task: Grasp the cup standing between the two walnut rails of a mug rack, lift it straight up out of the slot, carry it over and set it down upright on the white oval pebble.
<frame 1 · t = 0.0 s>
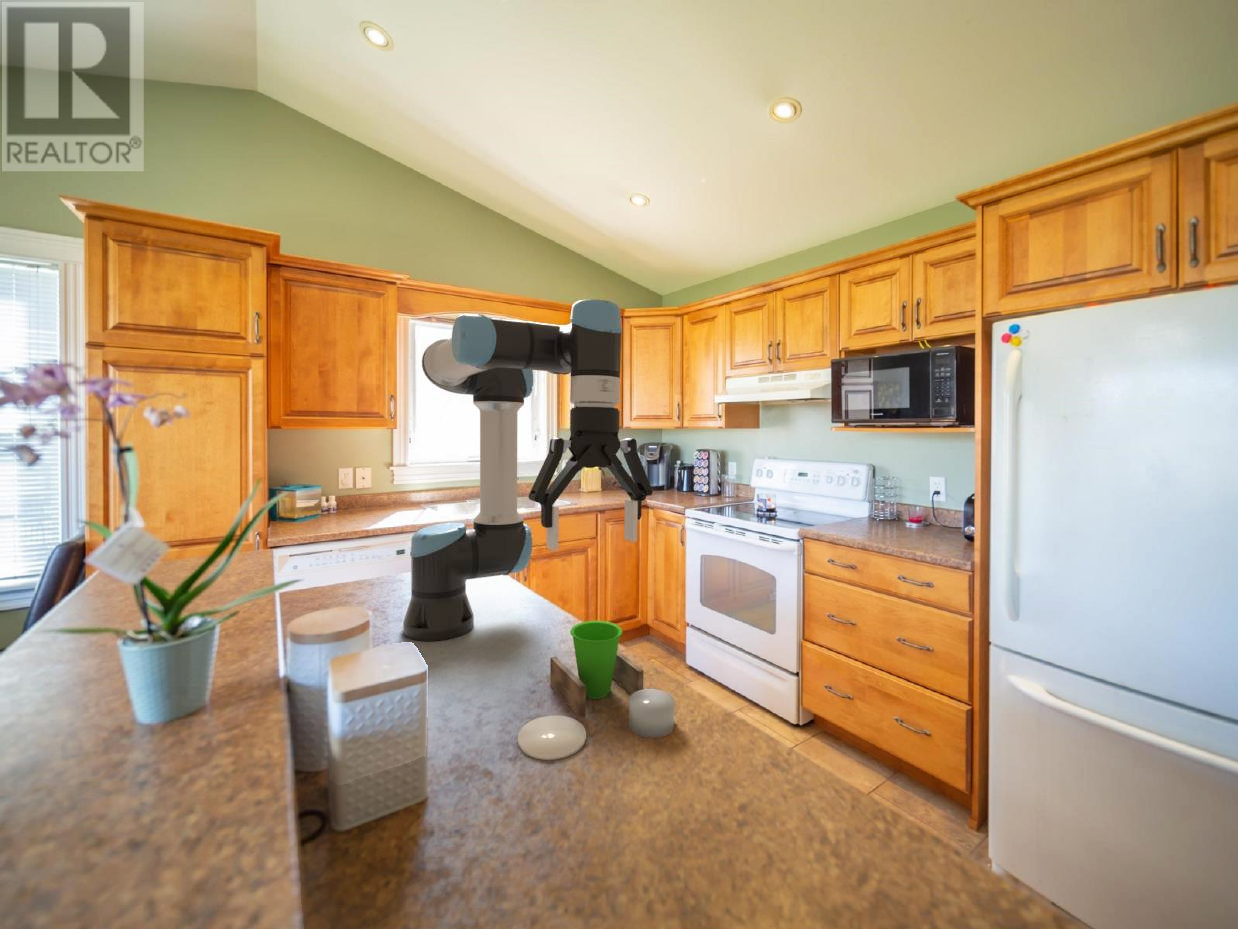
hand: (593, 544, 80), 28 cm above the countertop, fingers open, 13 cm apart
white oval pebble: (552, 738, 76), on the countertop
grey rounded puck: (651, 725, 80), on the countertop
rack: (595, 691, 90), on the countertop
cup: (595, 692, 90), on the countertop
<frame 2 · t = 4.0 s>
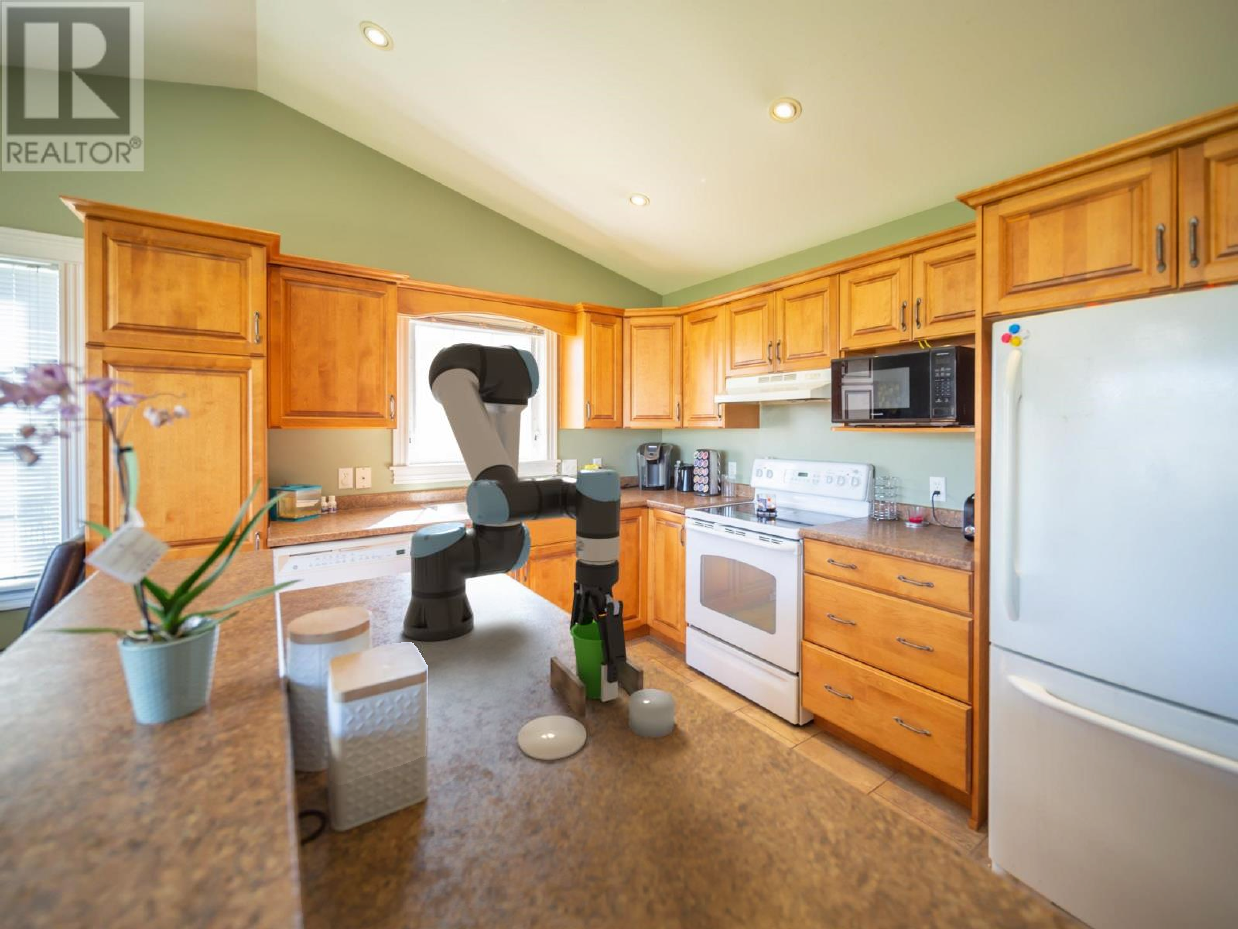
hand: (595, 686, 90), 1 cm above the countertop, fingers closed on cup, 9 cm apart
cup: (595, 692, 90), on the countertop, touching gripper
everything else where it was.
when the fingers open (3 cm above the countertop, at t = 10.4 s): cup drops 1 cm, resting on white oval pebble.
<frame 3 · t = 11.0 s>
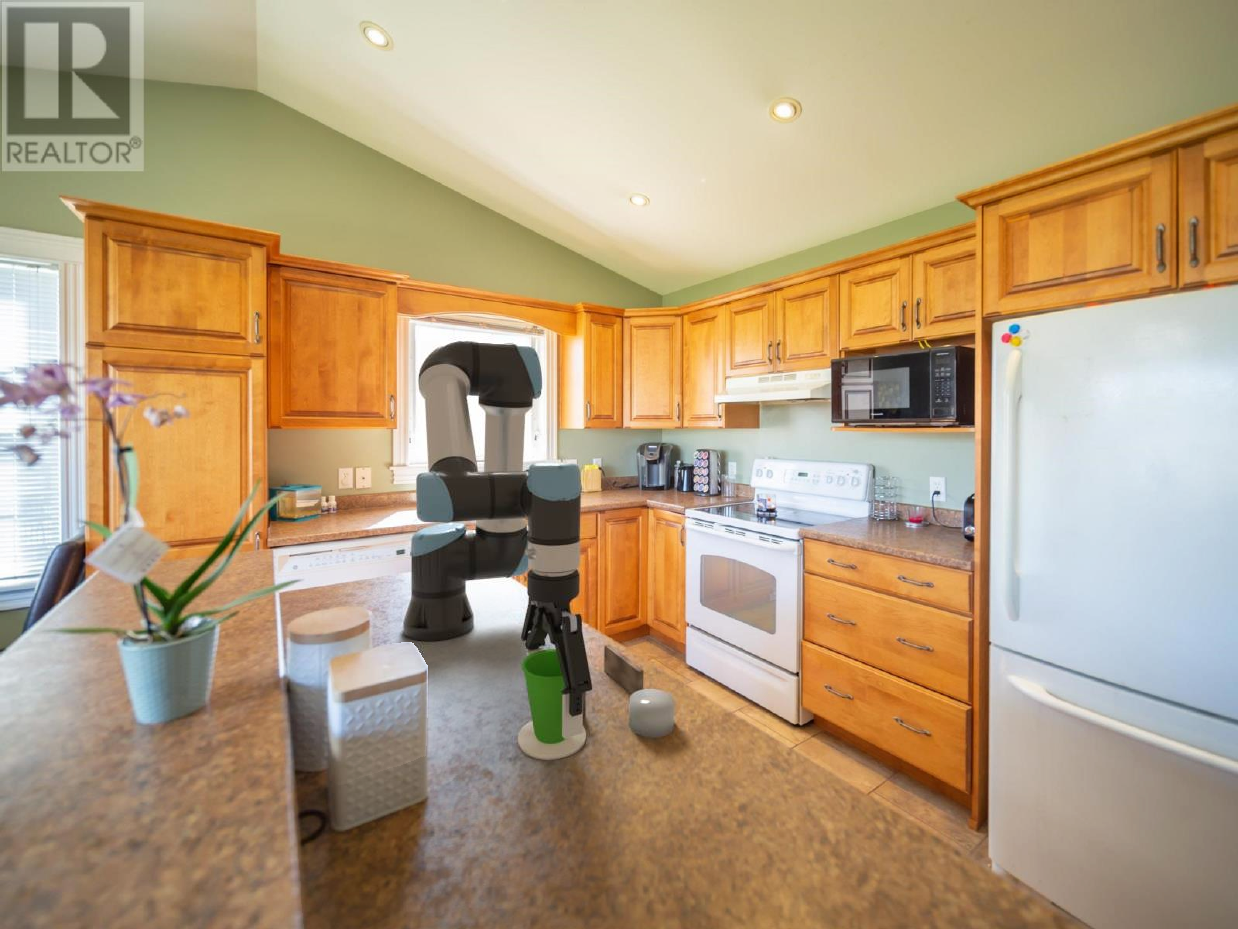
hand: (552, 711, 76), 4 cm above the countertop, fingers open, 13 cm apart
cup: (552, 735, 76), resting on white oval pebble
everything else where it was.
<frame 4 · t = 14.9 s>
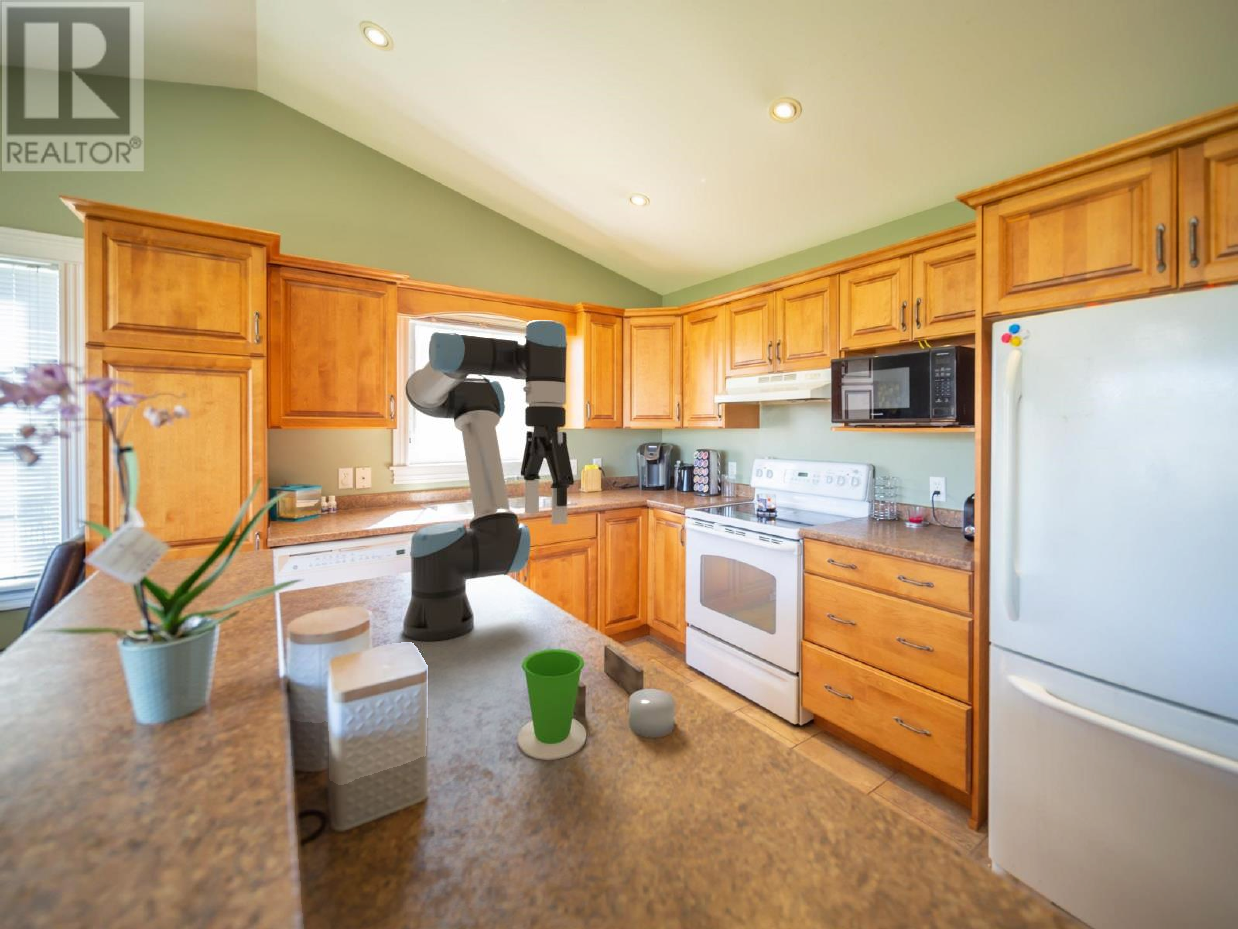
hand: (544, 518, 98), 29 cm above the countertop, fingers open, 13 cm apart
nothing on the countertop moved.
at the end: cup 0.1 cm from the white oval pebble (horizontally); cup tilted 0°; cup resting on white oval pebble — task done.
